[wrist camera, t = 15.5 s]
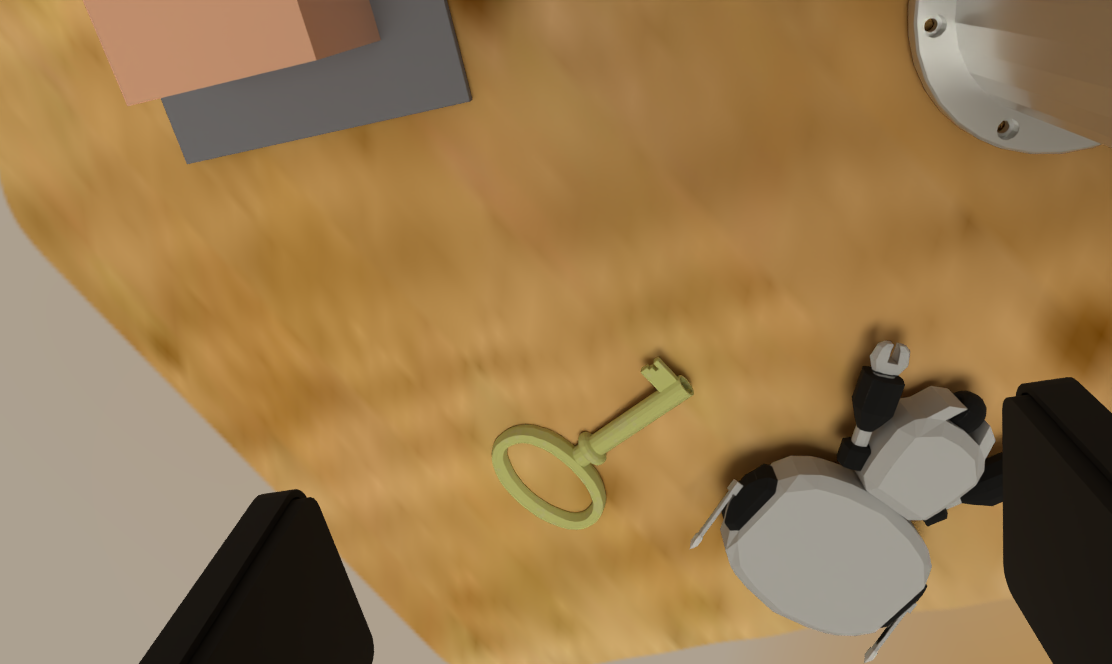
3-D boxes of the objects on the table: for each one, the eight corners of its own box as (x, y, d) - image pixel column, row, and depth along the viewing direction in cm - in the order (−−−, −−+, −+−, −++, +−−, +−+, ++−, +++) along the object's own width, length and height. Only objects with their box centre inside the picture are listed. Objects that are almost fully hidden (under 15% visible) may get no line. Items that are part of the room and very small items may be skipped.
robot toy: (865, 304, 40) (674, 511, 45) (897, 337, 36) (683, 562, 41) (1039, 437, 42) (840, 621, 47) (1089, 483, 38) (865, 679, 43)
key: (700, 367, 42) (703, 387, 40) (582, 531, 47) (580, 555, 45) (577, 301, 41) (575, 318, 39) (471, 475, 46) (464, 498, 44)
